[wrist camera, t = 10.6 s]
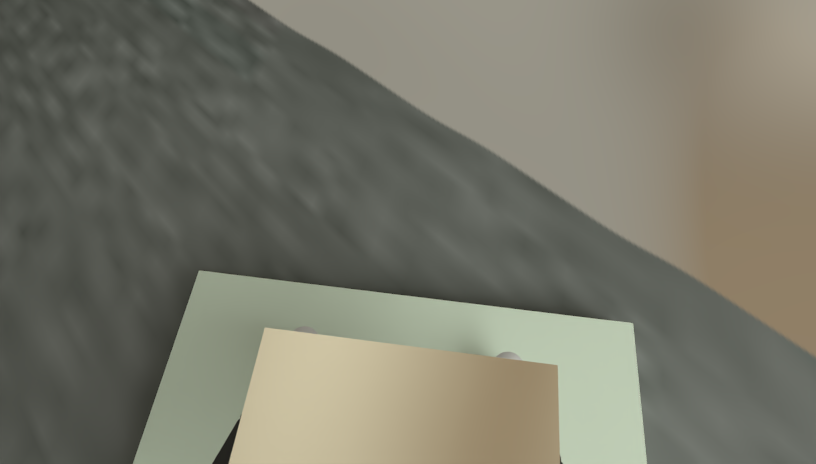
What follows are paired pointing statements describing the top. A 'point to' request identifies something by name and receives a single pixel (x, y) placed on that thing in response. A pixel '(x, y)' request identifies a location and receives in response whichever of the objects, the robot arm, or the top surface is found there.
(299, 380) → the ash block
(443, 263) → the top surface
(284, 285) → the peg board
